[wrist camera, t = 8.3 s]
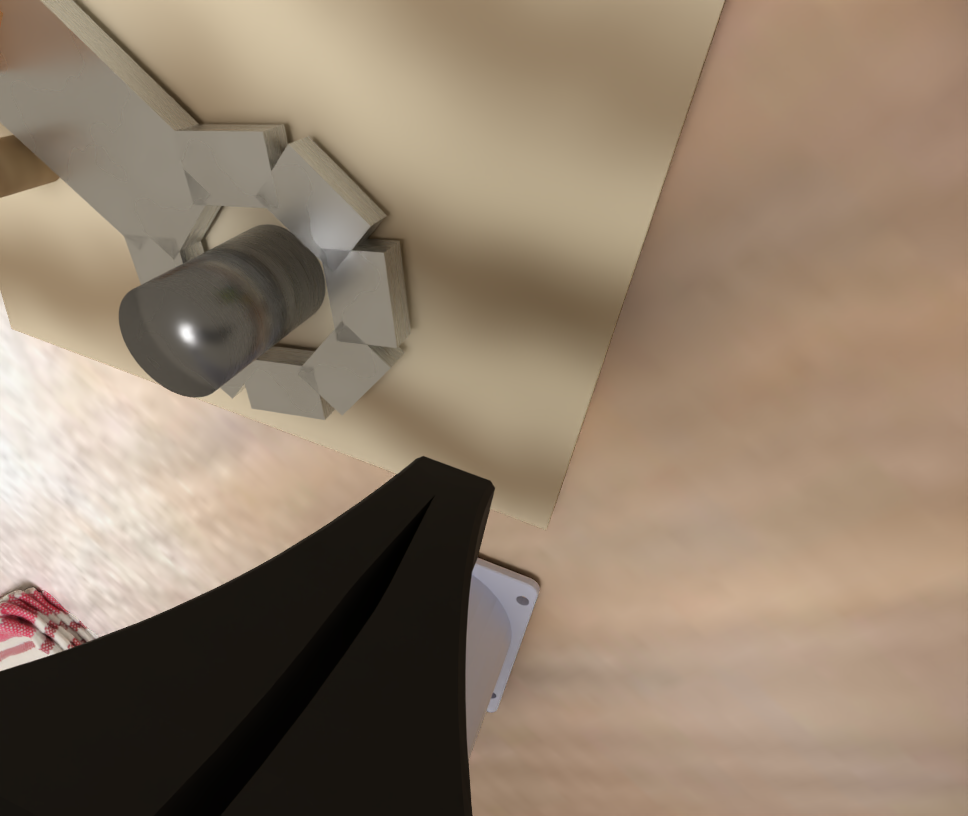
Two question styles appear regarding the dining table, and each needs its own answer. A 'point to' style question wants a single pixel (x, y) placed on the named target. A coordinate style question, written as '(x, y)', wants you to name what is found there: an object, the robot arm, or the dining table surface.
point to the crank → (203, 194)
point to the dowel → (21, 168)
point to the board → (417, 201)
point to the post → (221, 309)
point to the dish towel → (36, 628)
